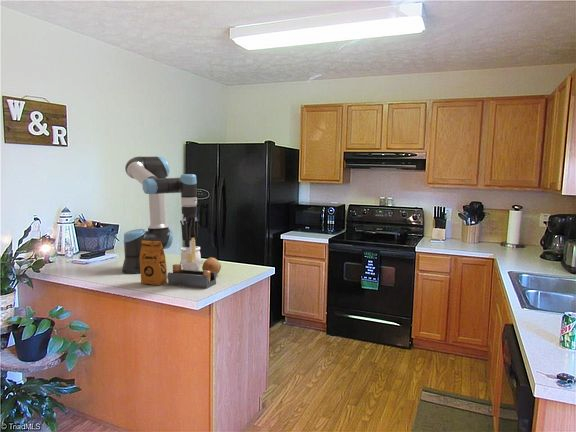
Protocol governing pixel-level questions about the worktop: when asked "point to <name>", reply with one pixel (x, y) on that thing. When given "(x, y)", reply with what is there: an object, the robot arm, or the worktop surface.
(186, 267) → the jar
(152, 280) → the coffee package
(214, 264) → the onion
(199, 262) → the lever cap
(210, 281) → the dark grey tray
